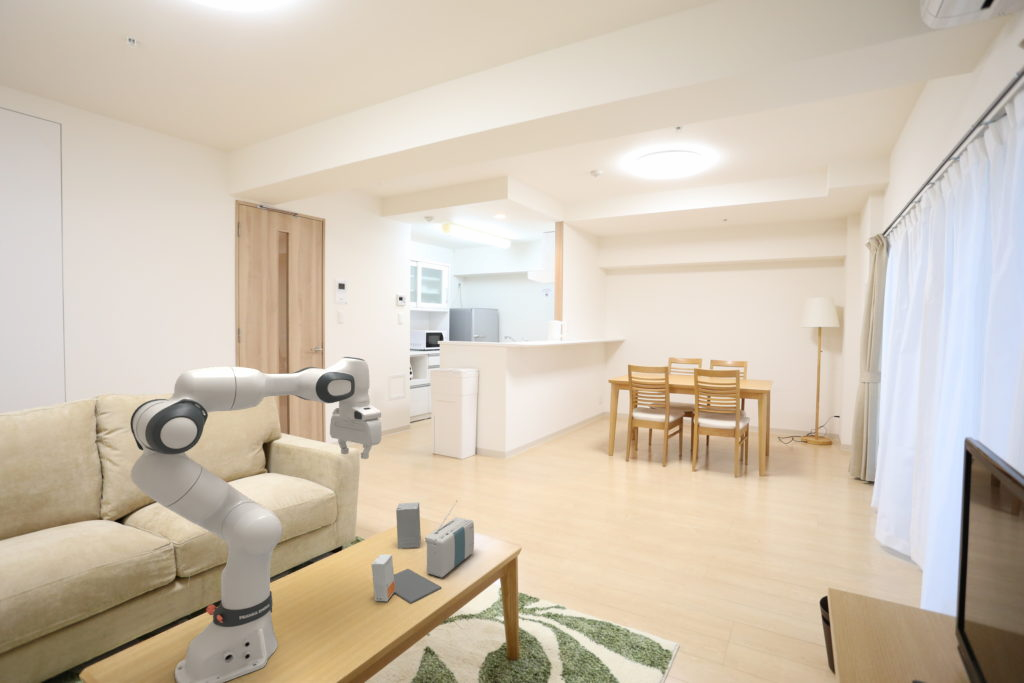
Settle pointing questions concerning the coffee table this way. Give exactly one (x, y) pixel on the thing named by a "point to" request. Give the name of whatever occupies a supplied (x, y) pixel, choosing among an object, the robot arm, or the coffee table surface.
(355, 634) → the coffee table surface
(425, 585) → the mat
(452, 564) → the stereo radio cassette player
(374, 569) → the skincare box
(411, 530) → the skincare box
